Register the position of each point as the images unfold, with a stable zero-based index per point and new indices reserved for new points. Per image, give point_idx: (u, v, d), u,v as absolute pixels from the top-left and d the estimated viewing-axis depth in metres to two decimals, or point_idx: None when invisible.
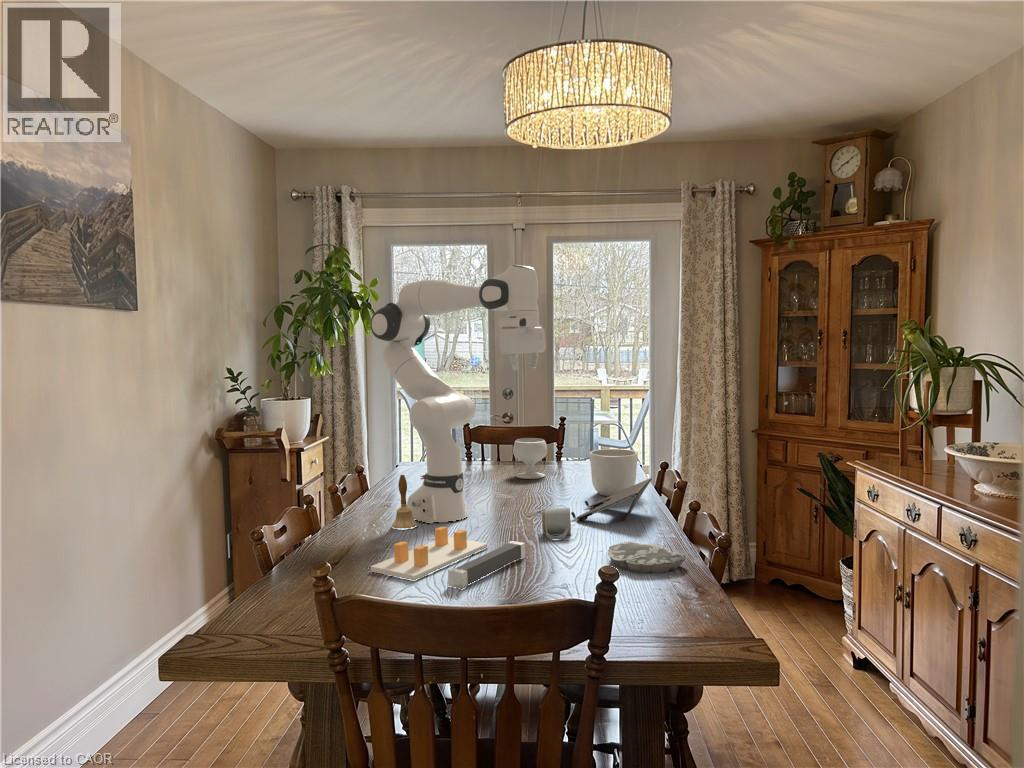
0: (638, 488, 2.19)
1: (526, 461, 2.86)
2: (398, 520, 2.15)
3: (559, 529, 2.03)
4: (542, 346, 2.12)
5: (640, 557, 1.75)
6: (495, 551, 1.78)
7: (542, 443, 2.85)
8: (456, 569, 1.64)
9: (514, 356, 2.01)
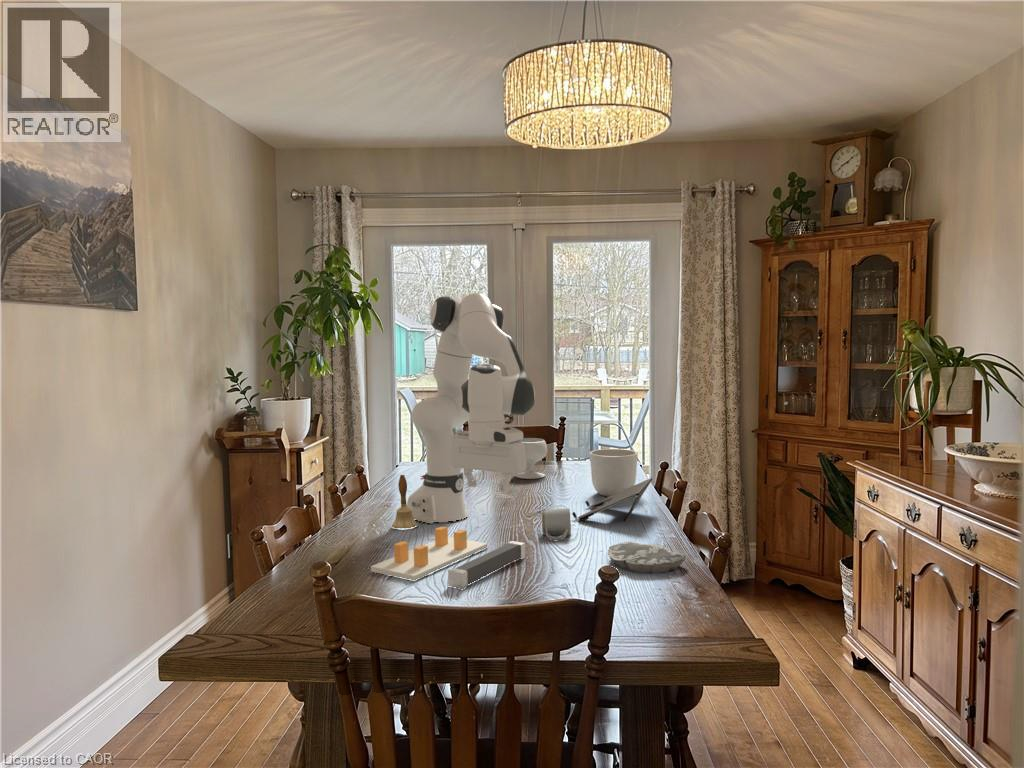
0: (639, 488, 2.19)
1: (526, 461, 2.86)
2: (398, 520, 2.15)
3: (559, 530, 2.02)
4: None
5: (640, 557, 1.75)
6: (495, 551, 1.78)
7: (542, 443, 2.85)
8: (456, 569, 1.64)
9: (511, 474, 1.70)
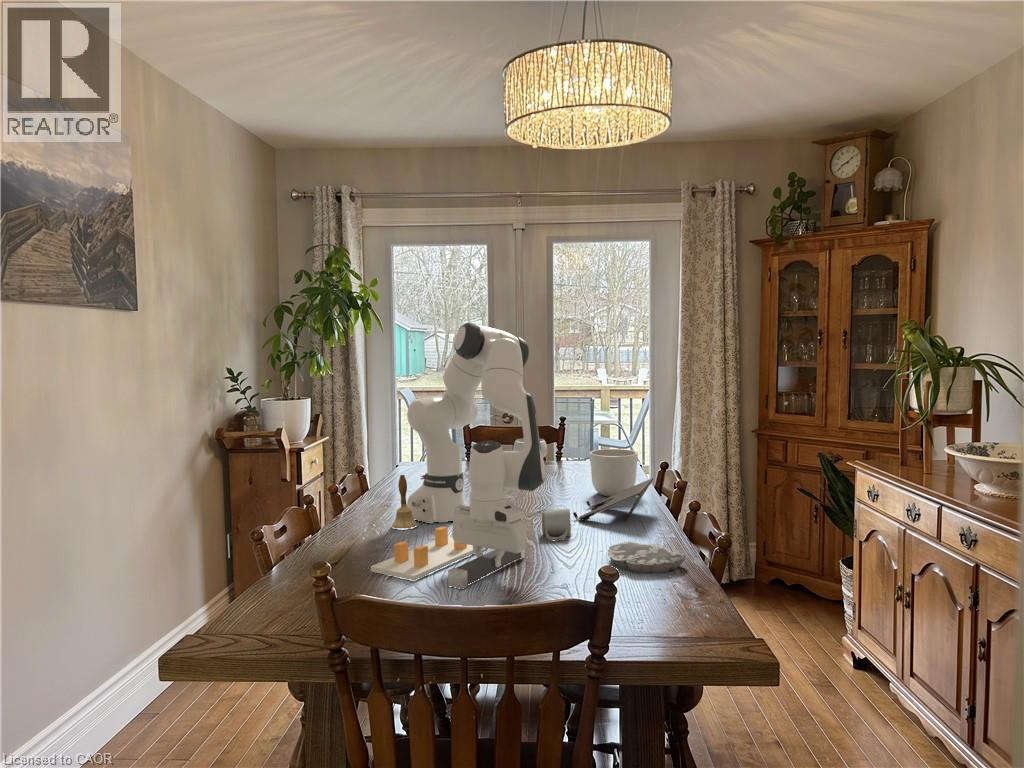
0: (640, 488, 2.19)
1: None
2: (398, 520, 2.15)
3: (559, 530, 2.01)
4: None
5: (640, 557, 1.75)
6: None
7: (542, 443, 2.85)
8: (456, 569, 1.64)
9: (504, 550, 1.72)
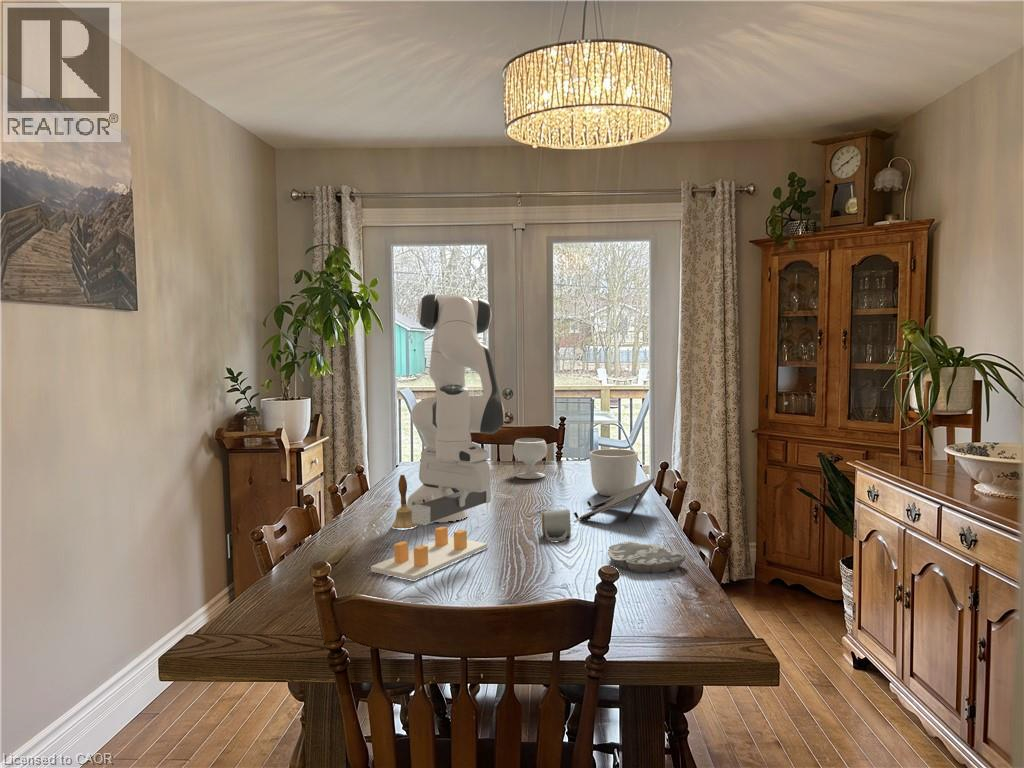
0: (641, 488, 2.19)
1: (526, 461, 2.86)
2: (398, 520, 2.15)
3: (559, 531, 2.01)
4: None
5: (640, 557, 1.75)
6: None
7: (542, 443, 2.85)
8: (420, 505, 1.69)
9: (468, 491, 1.77)
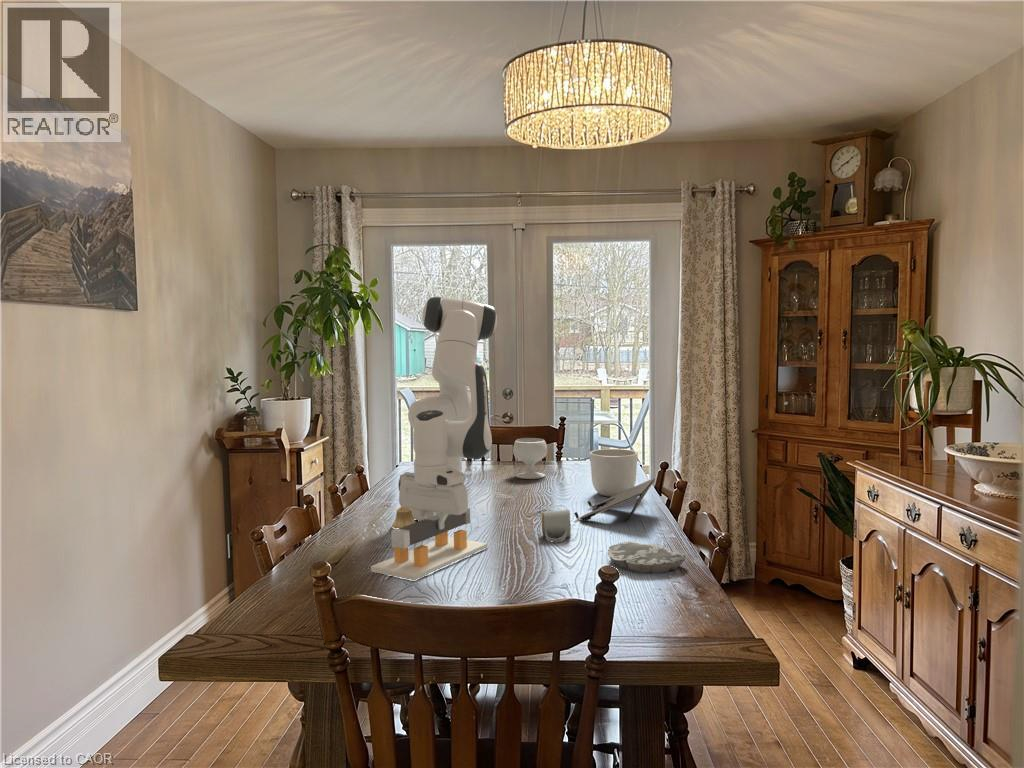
0: (641, 488, 2.18)
1: (526, 461, 2.86)
2: (398, 520, 2.15)
3: (559, 531, 2.00)
4: None
5: (640, 557, 1.75)
6: None
7: (542, 443, 2.85)
8: (399, 529, 1.74)
9: (446, 513, 1.82)
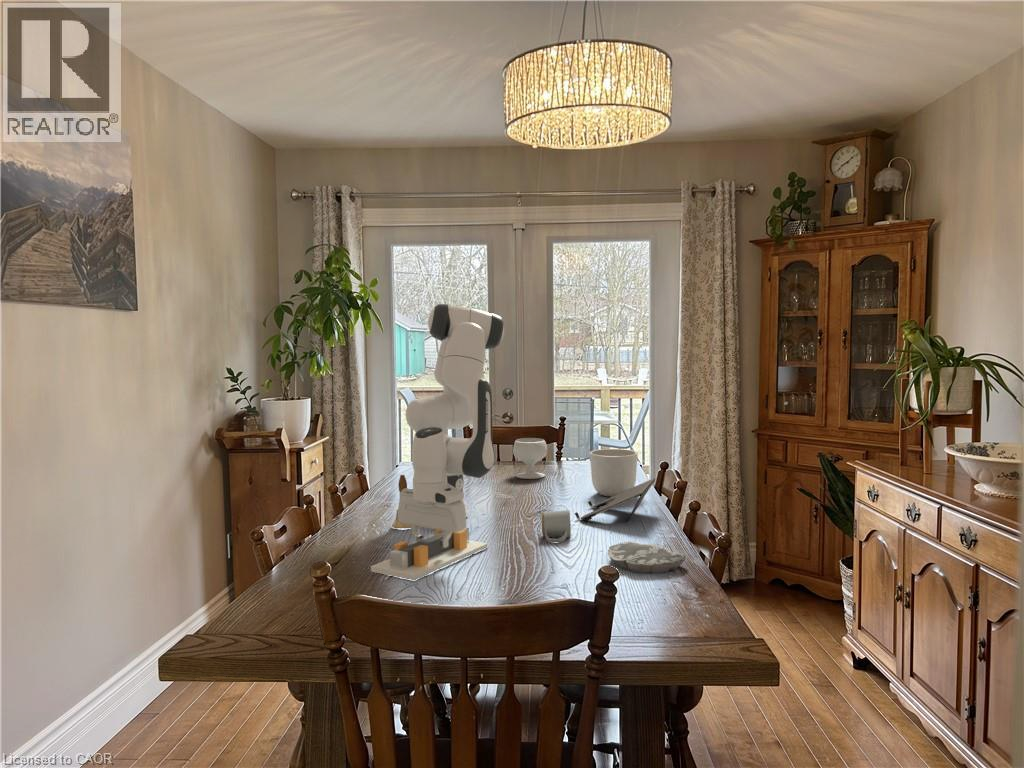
0: (642, 488, 2.18)
1: (526, 461, 2.86)
2: (398, 520, 2.15)
3: (559, 532, 2.00)
4: None
5: (640, 557, 1.75)
6: (438, 535, 1.87)
7: (542, 443, 2.85)
8: (397, 551, 1.74)
9: (451, 532, 1.81)
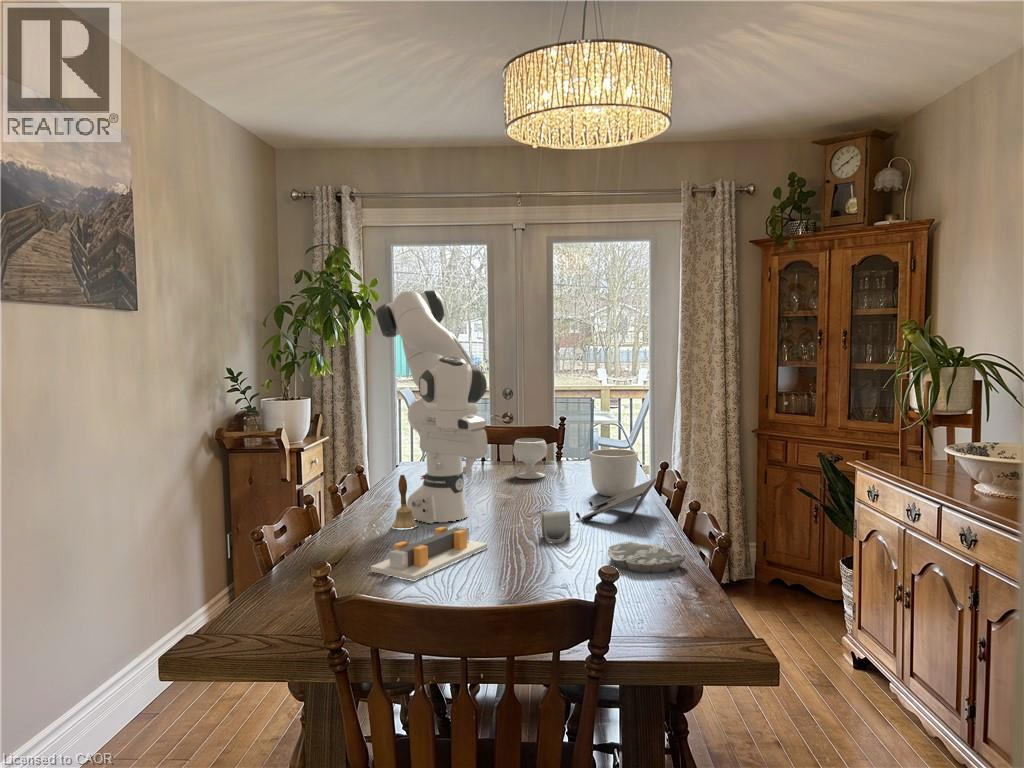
0: (643, 488, 2.18)
1: (526, 461, 2.86)
2: (398, 520, 2.15)
3: (558, 532, 1.99)
4: None
5: (640, 557, 1.75)
6: (438, 535, 1.87)
7: (542, 443, 2.85)
8: (397, 551, 1.74)
9: (474, 459, 1.85)
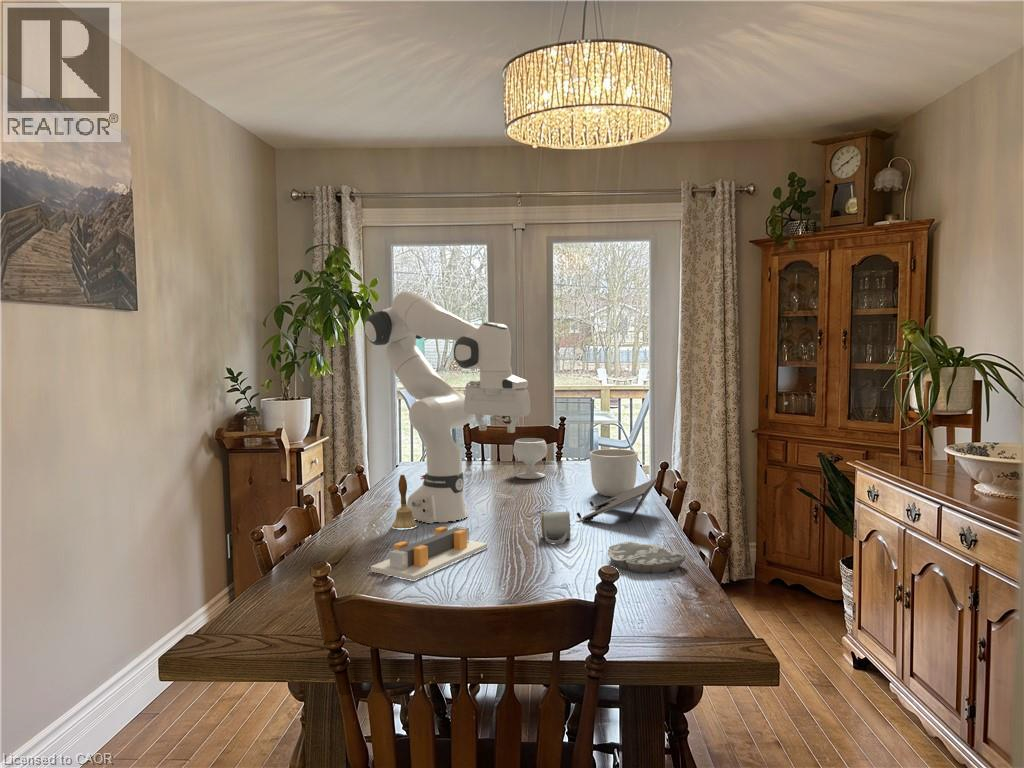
0: (644, 488, 2.18)
1: (526, 461, 2.86)
2: (398, 520, 2.15)
3: (558, 533, 1.99)
4: None
5: (640, 557, 1.75)
6: (438, 535, 1.87)
7: (542, 443, 2.85)
8: (397, 551, 1.74)
9: (517, 418, 1.94)
